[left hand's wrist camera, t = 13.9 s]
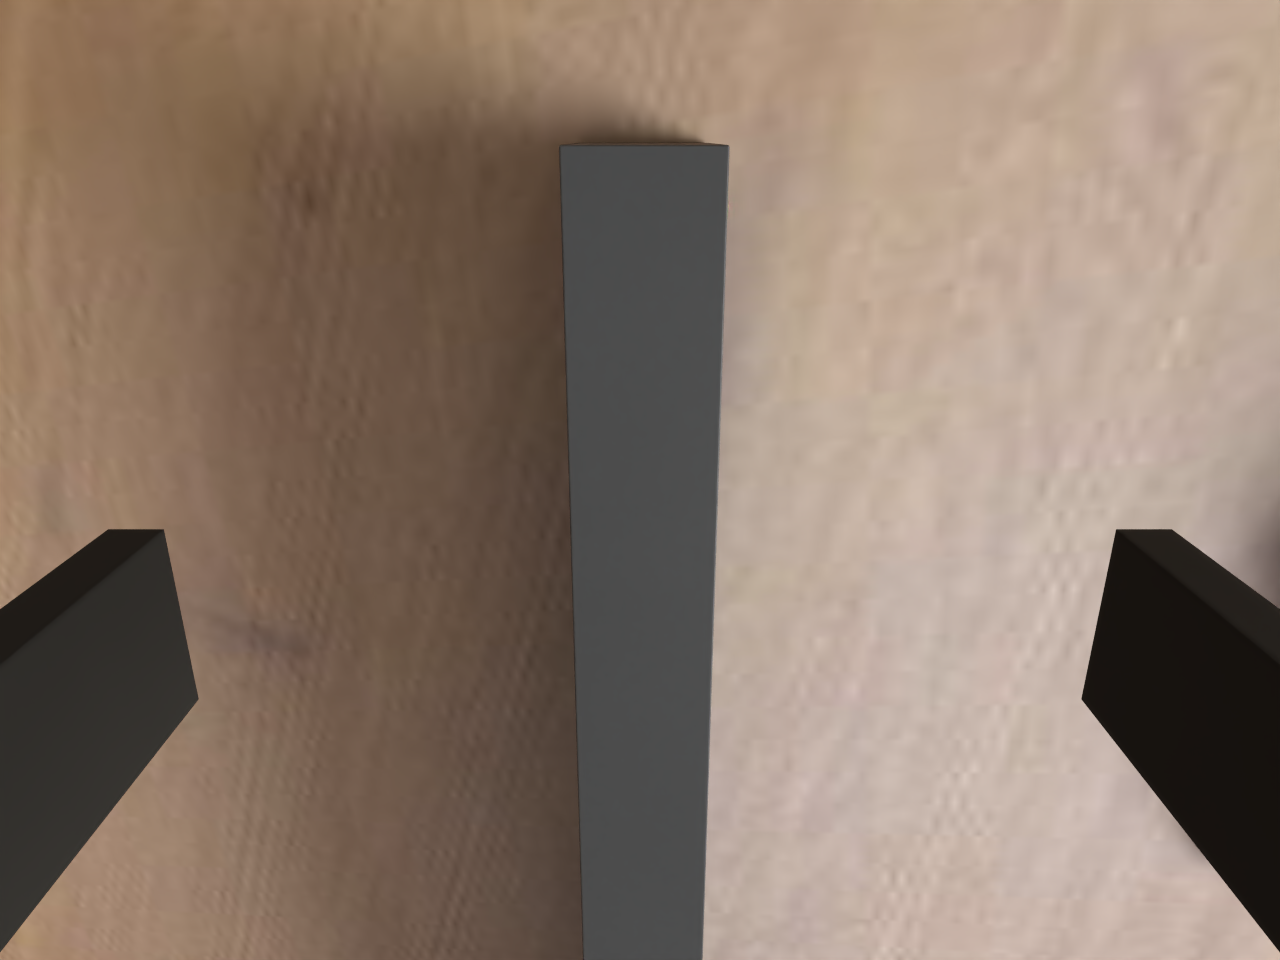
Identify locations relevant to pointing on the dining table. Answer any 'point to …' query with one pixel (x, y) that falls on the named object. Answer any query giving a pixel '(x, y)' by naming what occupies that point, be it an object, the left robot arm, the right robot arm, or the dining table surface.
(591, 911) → the beam
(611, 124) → the dining table surface
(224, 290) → the dining table surface
